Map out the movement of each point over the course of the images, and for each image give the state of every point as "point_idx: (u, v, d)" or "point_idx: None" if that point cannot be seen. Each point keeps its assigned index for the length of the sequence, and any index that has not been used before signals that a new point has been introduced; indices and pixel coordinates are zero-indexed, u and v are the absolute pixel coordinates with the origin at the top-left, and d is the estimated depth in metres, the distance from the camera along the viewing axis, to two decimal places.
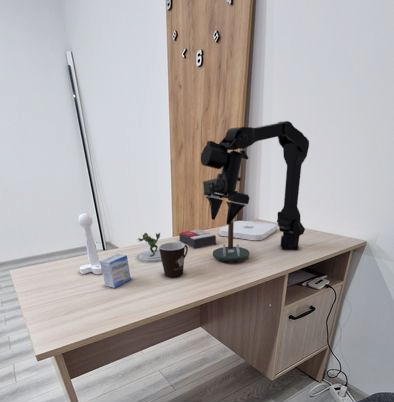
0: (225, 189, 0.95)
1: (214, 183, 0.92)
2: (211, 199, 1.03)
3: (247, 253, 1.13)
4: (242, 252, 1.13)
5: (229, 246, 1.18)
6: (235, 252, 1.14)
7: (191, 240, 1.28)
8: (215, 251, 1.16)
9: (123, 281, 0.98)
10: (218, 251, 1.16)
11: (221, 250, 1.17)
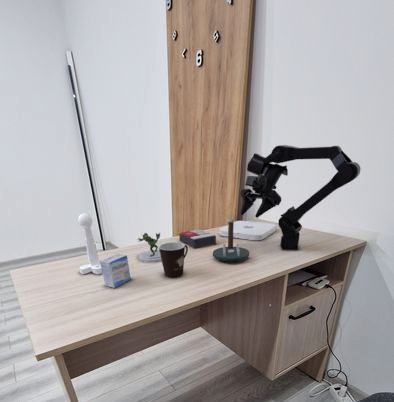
0: (263, 188, 1.12)
1: (258, 177, 1.08)
2: (246, 197, 1.19)
3: (247, 253, 1.13)
4: (242, 252, 1.13)
5: (229, 246, 1.18)
6: (235, 252, 1.14)
7: (191, 240, 1.28)
8: (215, 251, 1.16)
9: (123, 281, 0.98)
10: (218, 251, 1.16)
11: (221, 250, 1.17)
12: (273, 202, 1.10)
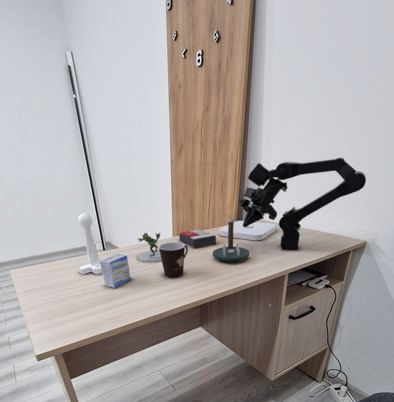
0: (261, 201, 1.13)
1: (256, 190, 1.10)
2: (250, 209, 1.17)
3: (247, 253, 1.13)
4: (242, 252, 1.13)
5: (229, 246, 1.18)
6: (235, 252, 1.14)
7: (191, 240, 1.28)
8: (215, 251, 1.16)
9: (123, 281, 0.98)
10: (218, 251, 1.16)
11: (221, 250, 1.17)
12: (261, 214, 1.15)
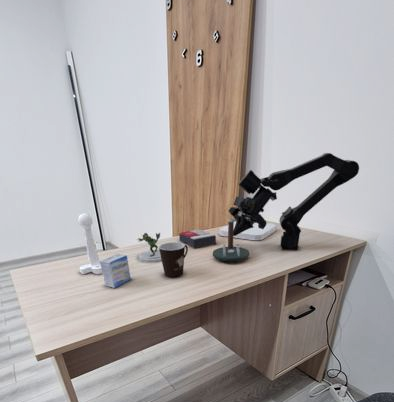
0: (250, 210, 1.13)
1: (246, 199, 1.09)
2: (239, 218, 1.16)
3: (247, 253, 1.13)
4: (242, 252, 1.13)
5: (229, 246, 1.18)
6: (235, 252, 1.14)
7: (191, 240, 1.28)
8: (215, 251, 1.16)
9: (123, 281, 0.98)
10: (218, 251, 1.16)
11: (221, 250, 1.17)
12: (251, 223, 1.15)
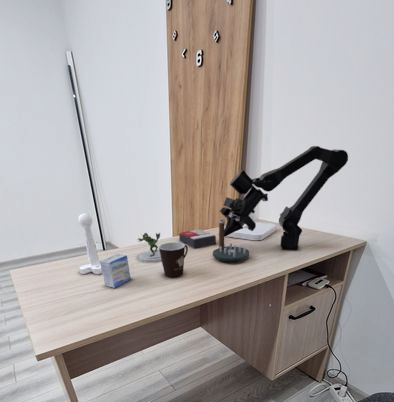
0: (240, 211, 1.12)
1: (235, 201, 1.08)
2: (230, 219, 1.15)
3: (245, 249, 1.16)
4: (241, 250, 1.16)
5: (222, 247, 1.17)
6: None
7: (191, 240, 1.28)
8: (217, 255, 1.12)
9: (123, 281, 0.98)
10: (220, 254, 1.13)
11: (220, 252, 1.14)
12: (240, 224, 1.14)
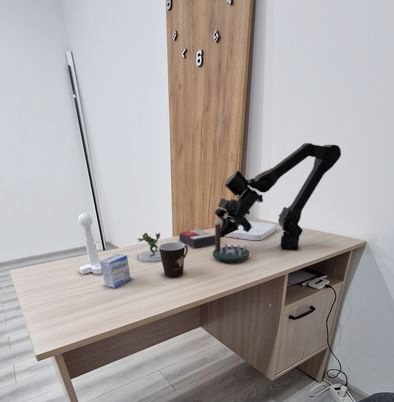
0: (235, 212, 1.10)
1: (230, 202, 1.07)
2: (225, 220, 1.14)
3: (240, 248, 1.19)
4: (237, 249, 1.18)
5: (219, 249, 1.16)
6: None
7: (191, 240, 1.28)
8: (222, 256, 1.10)
9: (123, 281, 0.98)
10: (224, 255, 1.11)
11: (222, 254, 1.13)
12: (236, 226, 1.13)
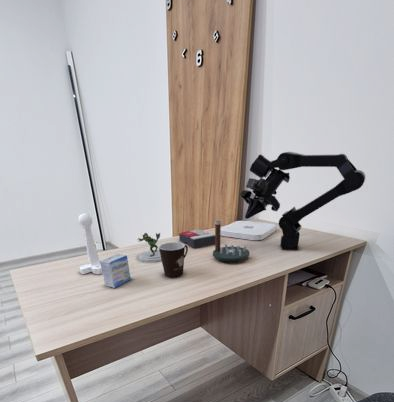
0: (263, 192, 1.12)
1: (259, 181, 1.08)
2: (252, 201, 1.15)
3: (240, 248, 1.19)
4: (237, 249, 1.18)
5: (219, 249, 1.16)
6: None
7: (191, 240, 1.28)
8: (222, 256, 1.10)
9: (123, 281, 0.98)
10: (224, 255, 1.11)
11: (222, 254, 1.13)
12: (264, 206, 1.14)
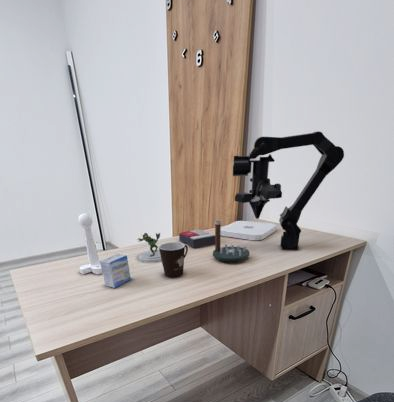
0: None
1: None
2: None
3: (240, 248, 1.19)
4: (237, 249, 1.18)
5: (219, 249, 1.16)
6: None
7: (191, 240, 1.28)
8: (222, 256, 1.10)
9: (123, 281, 0.98)
10: (224, 255, 1.11)
11: (222, 254, 1.13)
12: None
